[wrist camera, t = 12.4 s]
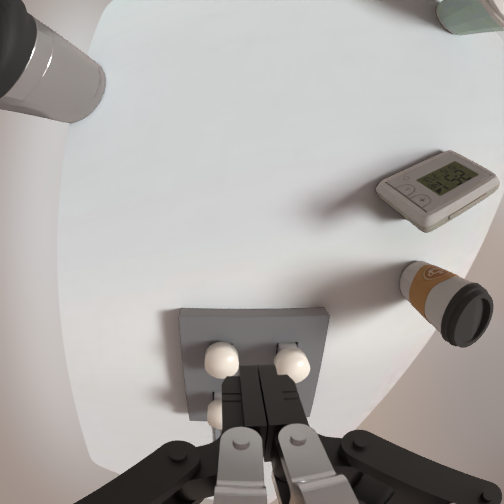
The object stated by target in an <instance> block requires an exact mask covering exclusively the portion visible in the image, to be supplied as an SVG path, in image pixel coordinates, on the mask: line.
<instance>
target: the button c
mask: <svg viewBox="0 0 504 504" xmlns="http://www.w3.org/2000/svg"><path fill="white" fill-rule="evenodd" d="M274 364H275V366H276V370H277V374H278V375H286V374H287V375H288V376H289V377H290V378H291V379H292V380H293V381H294V382H295V383H298V382H301V381H302V380H304V379H305V378H306V377H307V376H308V374H309V372H310V365H309V362H308V360H307V357H306V355H305V353H304V352H303V351H302V350H301V349H299V348H297V345H296V343H295V342H284V343H278V348H277V355H276V356H275V358H274Z"/></svg>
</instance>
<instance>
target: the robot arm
mask: <svg viewBox="0 0 504 504" xmlns="http://www.w3.org/2000/svg"><path fill="white" fill-rule="evenodd" d="M105 85H106V78H105V73H104V71H103V69H102V67H101V66H100V65H99V64H98V63H97V62H95V61H94V60H93V59H91V58H90V57H89V56H87V55H86V54H85V53H83V52H82V51H81V50H79V49H78V48H77V47H75V46H74V45H73V44H71V43H70V42H68V41H67V40H66V39H64V38H63V37H62V36H60V35H59V34H57V33H56V32H54V31H53V30H52V29H50V28H49V27H48V26H46V25H45V24H43V23H41V22H40V21H39V20H37V19H36V18H34V17H33V16H32V15H30V14H29V13H27V11H26V8H25V5H24V3H23V2H22V1H21V0H0V109H2V110H8V111H14V112H19V113H24V114H29V115H34V116H39V117H43V118H48V119H52V120H57V121H61V122H67V123H71V122H77V121H79V120H82V119H83V118H85V117H87V116H88V115H89V114H90V113H91V112H92V111H93V110H94V109H95V108H96V107H97V105H98V104H99V102H100V100H101V99H102V96H103V94H104V90H105ZM263 456H264V462H269V461H271V463H272V468H273V469H272V481H273V484H274V488H275V491H276V495H277V498H278V502H279V504H500V503H501V500H502V493H501V490H500V488H499V487H498V486H497V485H496V484H494V483H492V482H489V481H486V480H483V479H480V478H476V477H474V476H471V475H468V474H465V473H463V472H460V471H457V470H454V469H452V468H449V467H447V466H444V465H441V464H439V463H436V462H434V461H432V460H429V459H427V458H425V457H422V456H420V455H417V454H415V453H413V452H411V451H408V450H406V449H404V448H402V447H400V446H397V445H395V444H393V443H391V442H389V441H387V440H385V439H383V438H380V437H378V436H376V435H374V434H372V433H370V432H368V431H365V430H354V431H350V432H348V433H347V434H346V435H344V437H343V438H333V437H325V436H322V435H319V434H317V432H316V431H315V430H314V429H313V428H311V427H310V426H309V424H308V421H307V418H306V415H305V412H304V409H303V406H302V403H301V400H300V397H299V394H298V392H297V388H296V384H295V382H294V381H293V380H292V379H291V378H290V377H289V376H288V375H287V374H286V375H278V374H277V370H276V366H275V364H257V365H256V364H239V369H238V376H226V378H225V380H224V381H223V383H222V433H221V435H220V436H219V438H218V439H217V440H215V441H214V442H212V443H210V444H207V445H203V446H199V447H195V446H194V445H192V444H190V443H188V442H185V441H171V442H168V443H166V444H164V445H162V446H161V447H160V448H158V449H157V450H156V451H154V452H153V453H151V454H150V455H149V456H147V457H146V458H144V459H143V460H142V461H140V462H139V463H137V464H136V465H134V466H133V467H131V468H130V469H128V470H127V471H125V472H124V473H122V474H121V475H120V476H118V477H117V478H115V479H113V480H112V481H110V482H109V483H107V484H106V485H104V486H102V487H101V488H99V489H98V490H96V491H94V492H93V493H91V494H89V495H88V496H86V497H84V498H83V499H81V500H79V501H77V502H76V503H74V504H200V503H201V502H202V501H203V499H204V498H207V497H211V496H214V504H267V492H266V487H265V485H264V469H263Z"/></svg>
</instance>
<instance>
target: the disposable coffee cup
mask: <svg viewBox="0 0 504 504" xmlns="http://www.w3.org/2000/svg"><path fill="white" fill-rule="evenodd" d="M436 14H437V17H438V19H439V21H440V23H441V24H442V25H443V26H444V28H445V29H446V30H448V31H449V32H450V33H452V34H456V35H467V34H475V33H483V32H494V31H504V0H443V1H442V2H441V3H440V4H438V7H437V10H436Z"/></svg>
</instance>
